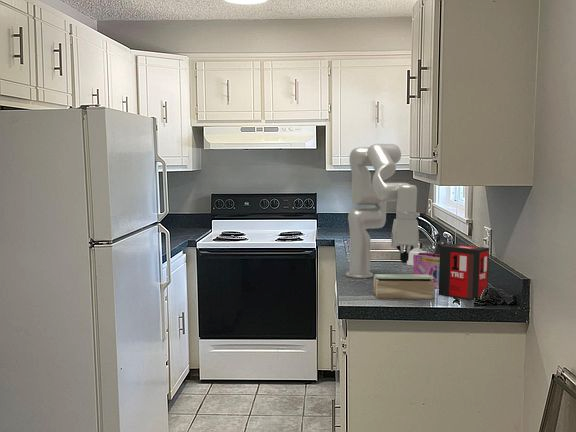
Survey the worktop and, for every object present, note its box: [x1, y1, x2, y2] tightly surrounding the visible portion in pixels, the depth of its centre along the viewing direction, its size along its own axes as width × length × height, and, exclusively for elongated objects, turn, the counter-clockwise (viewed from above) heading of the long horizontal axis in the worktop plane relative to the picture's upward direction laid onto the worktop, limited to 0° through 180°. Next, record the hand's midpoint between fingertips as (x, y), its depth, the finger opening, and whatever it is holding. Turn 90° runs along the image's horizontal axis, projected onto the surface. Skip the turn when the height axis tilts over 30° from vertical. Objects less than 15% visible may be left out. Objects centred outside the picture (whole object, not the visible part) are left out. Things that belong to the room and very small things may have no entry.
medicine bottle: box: [406, 241, 426, 267], centre depth 313 cm, size 7×7×12 cm
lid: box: [373, 273, 433, 279], centre depth 241 cm, size 10×22×1 cm, turn 91°
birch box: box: [372, 275, 435, 300], centre depth 242 cm, size 10×22×7 cm, turn 91°
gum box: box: [413, 252, 440, 290], centre depth 259 cm, size 24×8×14 cm, turn 56°
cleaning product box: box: [438, 243, 490, 301], centre depth 242 cm, size 16×9×20 cm, turn 48°
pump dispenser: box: [432, 239, 449, 254], centre depth 296 cm, size 10×10×15 cm
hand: (404, 262), depth 239 cm, fingers closed
